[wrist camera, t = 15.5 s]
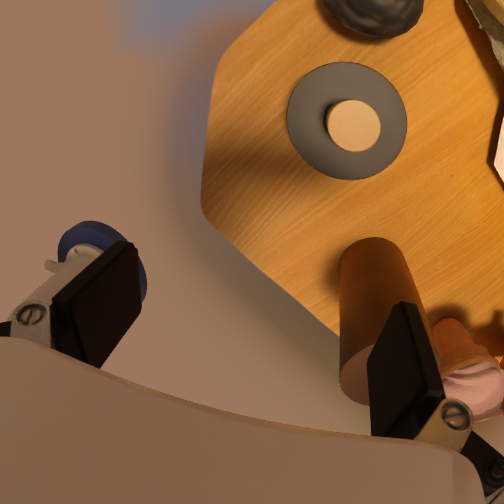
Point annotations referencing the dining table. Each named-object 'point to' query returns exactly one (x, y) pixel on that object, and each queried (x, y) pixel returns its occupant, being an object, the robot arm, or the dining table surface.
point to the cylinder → (370, 307)
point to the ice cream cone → (468, 370)
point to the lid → (346, 120)
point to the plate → (500, 153)
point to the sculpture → (496, 9)
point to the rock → (489, 28)
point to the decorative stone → (376, 16)
